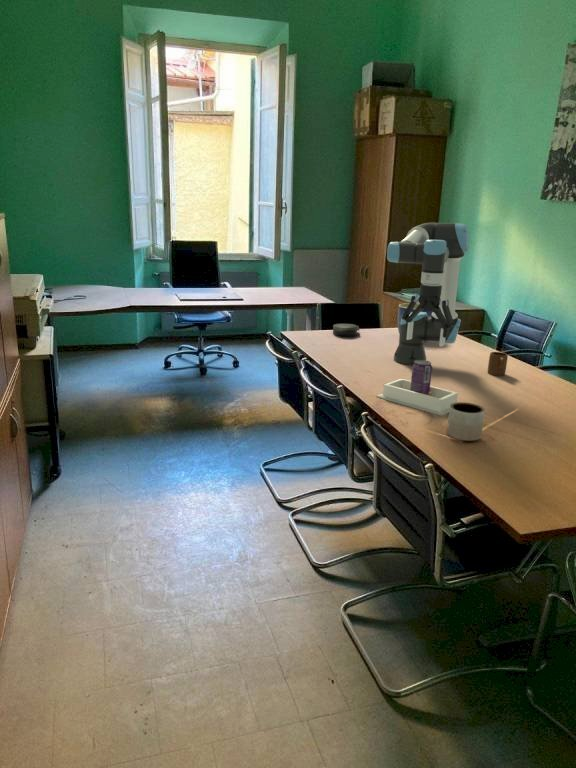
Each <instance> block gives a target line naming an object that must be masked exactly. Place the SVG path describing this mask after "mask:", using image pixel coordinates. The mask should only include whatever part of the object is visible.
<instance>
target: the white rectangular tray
mask: <svg viewBox="0 0 576 768" xmlns="http://www.w3.org/2000/svg"><path fill="white" fill-rule="evenodd" d="M410 387H411V380H408V379H404V378H400V379H395V380H392V381H390V382H388V383H384V384H383V390H382V393H379V394H377V395H375V397H376V398H377V399H378V398H379V399H382V400H386V401H387V402H388V401H389V402H391V403H395V404H399V405H402V406H406V407H409V408H413V409H416V410H420V411H423V412H427V413H429V414H430V413H431V414H433V415H438V416H440V417H443V416H445V415H447V414H449V410H450V405H451V404H453V403H458V402H457V401H458V396H459V393H458V392H457V391H456V392H455V391H451V390H448V389H445V388H440V387H436V386H432V385H430V391H429V393H427V394H421V393H417V392H414V391H410Z"/></svg>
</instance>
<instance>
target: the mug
mask: <svg viewBox="0 0 576 768" xmlns="http://www.w3.org/2000/svg"><path fill="white" fill-rule="evenodd" d="M508 357H509V355H508V354H507V353H506V352H500V351H492V352H490V353H489V357H488V358H489V359H488V365H487V366H488V367H487V373H488V375H491V376H496V377H502V376H505V375H506V372H507V370H506V369H507V364H508Z"/></svg>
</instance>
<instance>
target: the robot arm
mask: <svg viewBox="0 0 576 768" xmlns="http://www.w3.org/2000/svg"><path fill="white" fill-rule="evenodd" d="M469 235H470V233H469V227H468V226H467V224H464V223H458V222H435V221H434V222H425V223H421V224H419V225H415V226H414V227H412V228H411V229H410V230H408V232H407V233H406V237H404V239H402V240H401V241H391V242H389V243H388V245H387V251H386V259H387V261H388V262H390V263H395V264H399V263H400V264H415V265H421V267H422V268H421V276H420V283H421V284H420V285H419V295H412V296H410V297H411V298H410V302H409V303H410V304H409V305H408V307H407V309H406V311H405V312H404V314H403V315H402V318H401V323H400V334H399V337H398V338H399V339H398V345H397V347H396V350H395V352H394V354H393V362H396V363H397V364H402V365H410V366H413V364H414V361H416V360H426V361H427V355H426V349H425V342H429V343H430V342H431V343H438V344H439V345H438V346H439V347H445V345H446V344H450V345H451V344H454V343H456V340H457V337H458V332H459V328H460V325H461V321H462V320H461V318H459V317H458V316H459V315H458V313H457V312H456V303H457V293H458V283H459V275H460V273H459V272H460V265H461V259H463V258H464V257H465V253H468V252H469V246H470V245H469V243H470V237H469ZM416 303H418V304H420V305H419V306H418V307H417V308H416V309H415V310H414V311H413V312H412V310H413V308H414V306H415V305H416ZM422 310H428V311H433V312H432V314H431V316H427V313H426V312H421V311H422Z"/></svg>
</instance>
